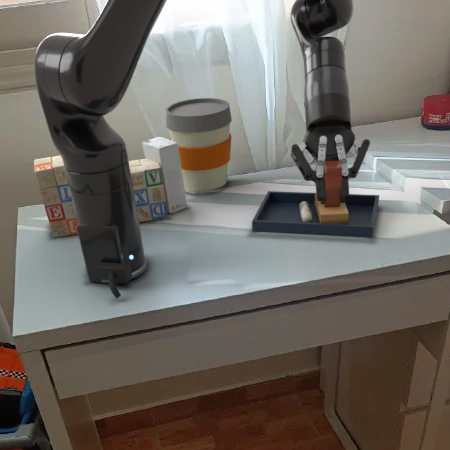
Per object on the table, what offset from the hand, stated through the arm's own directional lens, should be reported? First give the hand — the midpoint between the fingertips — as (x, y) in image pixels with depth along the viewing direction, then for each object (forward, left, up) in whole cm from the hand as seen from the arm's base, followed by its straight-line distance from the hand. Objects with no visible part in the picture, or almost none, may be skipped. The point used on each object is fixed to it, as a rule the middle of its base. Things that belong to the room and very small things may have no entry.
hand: (333, 201), depth 102 cm
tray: (+2, +3, -5) cm, 6 cm away
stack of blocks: (-2, +41, -5) cm, 41 cm away
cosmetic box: (+6, +32, -5) cm, 33 cm away
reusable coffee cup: (+17, +28, -5) cm, 33 cm away
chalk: (+2, +5, -4) cm, 7 cm away
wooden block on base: (+2, +1, -4) cm, 4 cm away
